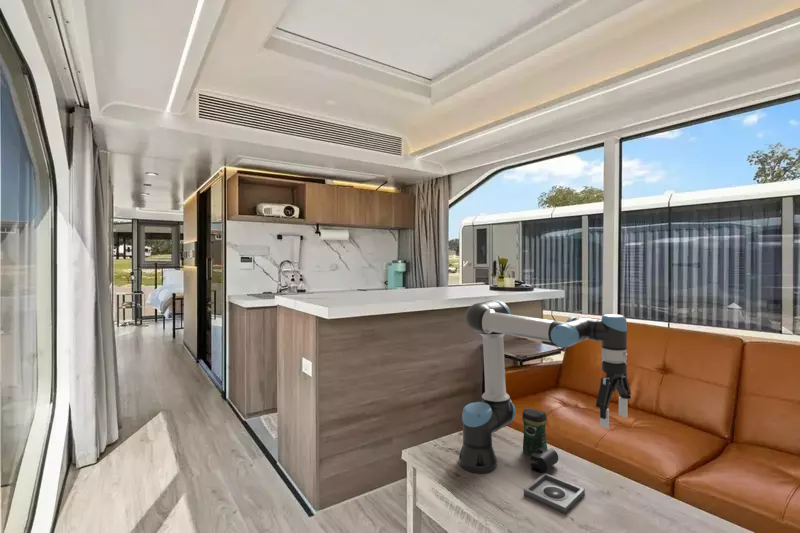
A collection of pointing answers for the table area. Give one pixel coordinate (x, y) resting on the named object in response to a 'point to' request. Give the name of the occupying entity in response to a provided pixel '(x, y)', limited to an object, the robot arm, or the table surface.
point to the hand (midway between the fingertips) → (613, 421)
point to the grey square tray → (554, 493)
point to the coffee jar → (534, 430)
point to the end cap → (543, 460)
